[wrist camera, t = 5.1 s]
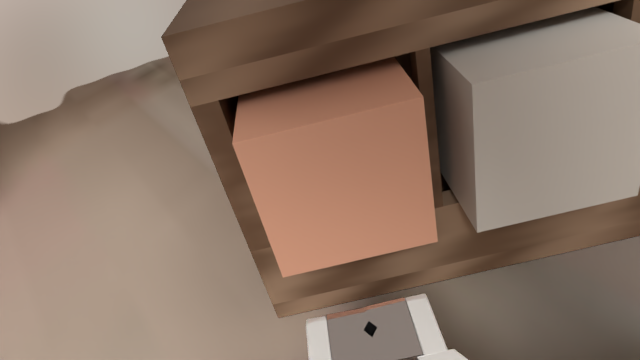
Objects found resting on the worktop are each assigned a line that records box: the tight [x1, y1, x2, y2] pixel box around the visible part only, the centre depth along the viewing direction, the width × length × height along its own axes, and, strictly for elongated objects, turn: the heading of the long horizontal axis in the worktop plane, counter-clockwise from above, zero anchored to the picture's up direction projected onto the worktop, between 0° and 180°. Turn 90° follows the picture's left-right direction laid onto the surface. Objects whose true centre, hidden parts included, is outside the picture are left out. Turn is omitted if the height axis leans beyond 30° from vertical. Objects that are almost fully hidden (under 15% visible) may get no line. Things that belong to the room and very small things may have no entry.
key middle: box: [430, 7, 640, 233], centre depth 17 cm, size 6×4×6 cm
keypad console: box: [161, 0, 640, 318], centre depth 20 cm, size 24×6×15 cm, turn 96°
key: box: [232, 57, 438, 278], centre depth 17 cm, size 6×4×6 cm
